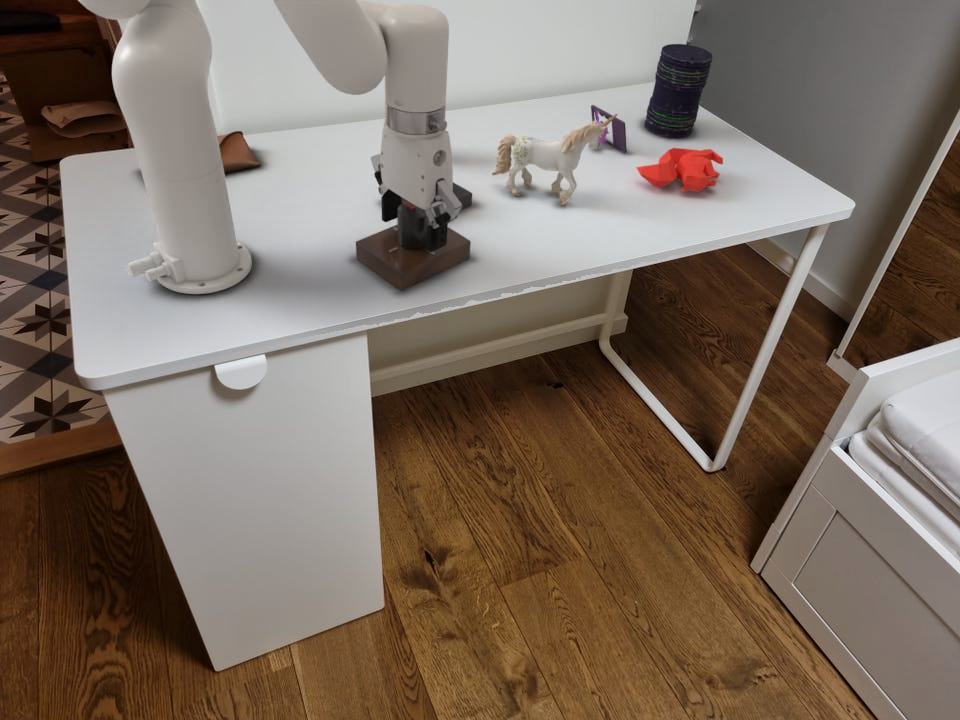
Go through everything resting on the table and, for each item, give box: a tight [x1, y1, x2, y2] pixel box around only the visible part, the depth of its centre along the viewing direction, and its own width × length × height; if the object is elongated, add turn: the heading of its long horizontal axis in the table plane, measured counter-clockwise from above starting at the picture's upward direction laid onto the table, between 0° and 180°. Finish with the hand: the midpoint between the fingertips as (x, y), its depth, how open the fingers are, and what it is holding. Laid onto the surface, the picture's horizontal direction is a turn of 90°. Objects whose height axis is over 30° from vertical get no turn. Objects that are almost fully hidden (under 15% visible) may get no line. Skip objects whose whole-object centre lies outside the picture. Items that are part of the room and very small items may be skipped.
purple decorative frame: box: [590, 104, 628, 154], centre depth 135 cm, size 7×5×9 cm
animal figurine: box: [635, 147, 724, 193], centre depth 126 cm, size 12×15×5 cm
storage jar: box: [643, 43, 714, 140], centre depth 141 cm, size 10×10×15 cm
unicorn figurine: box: [491, 113, 618, 206], centre depth 117 cm, size 7×20×13 cm, turn 92°
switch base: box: [402, 181, 473, 217], centre depth 115 cm, size 11×9×4 cm
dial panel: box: [355, 223, 472, 292], centre depth 103 cm, size 13×10×3 cm
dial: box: [397, 201, 431, 250], centre depth 101 cm, size 5×5×5 cm
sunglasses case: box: [217, 130, 261, 175], centre depth 119 cm, size 18×7×7 cm, turn 127°
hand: (413, 233), depth 102 cm, fingers open, 9 cm apart
